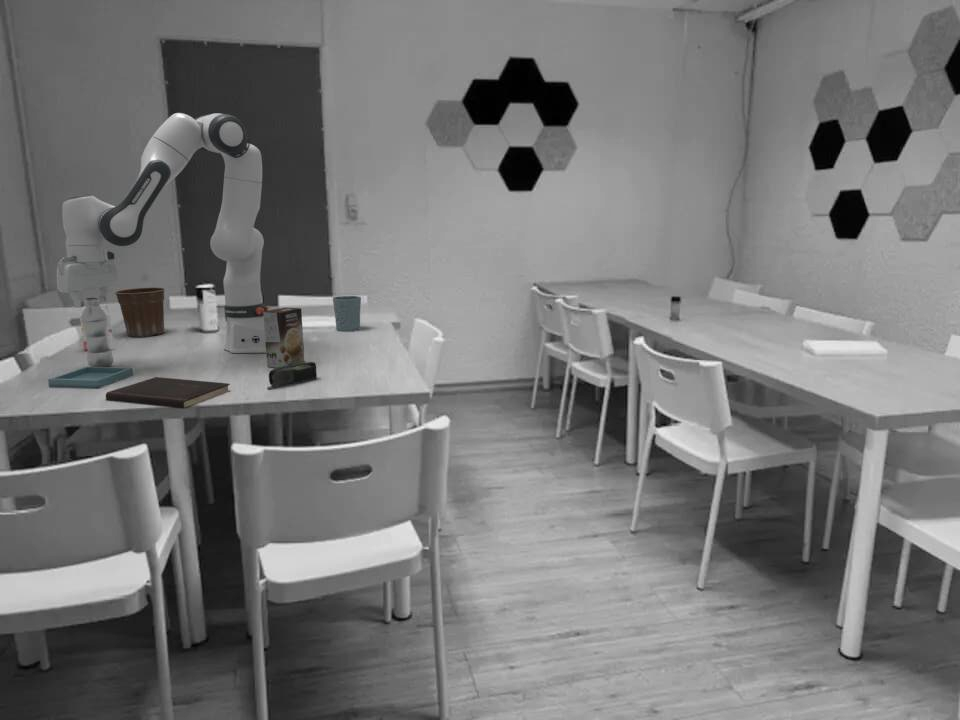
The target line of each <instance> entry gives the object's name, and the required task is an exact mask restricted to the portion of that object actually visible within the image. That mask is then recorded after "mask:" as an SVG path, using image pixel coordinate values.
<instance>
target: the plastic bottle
mask: <svg viewBox="0 0 960 720" xmlns="http://www.w3.org/2000/svg"><path fill="white" fill-rule="evenodd" d="M83 301H84V307H85V308H84V310H83V311H82V313H81V314H82V315H81V314H80V315H81V321H82V324H83V327H84V330H85V335H86V339H87V350H86V351H87V352H86V361H87V364H88V367H111V366H112V365H113V363H114V355H113V352H112V350H110V346H109V342H108V336H107V315H106V313H105V312H104V311H103V308H100V306H99V305H100V304H101V303H100V301H99V298H98V297H87V298H84V299H83ZM81 321H80V322H81Z"/></svg>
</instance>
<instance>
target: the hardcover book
mask: <svg viewBox="0 0 960 720" xmlns="http://www.w3.org/2000/svg"><path fill="white" fill-rule="evenodd" d="M230 385H231V383H228V382H215V381H208V380H207V381H204V380H195V379H194V380H193V379H183V378H170V377H159V376H155V377H152V378H148V379H145V380H142V381H139V382H136V383H132V384H129V385H127V386H122V387H120V388H116V389H113V390H110V391H107V392H106V393H105V400H106V401H110V402H121V403H128V404H129V403H131V404H140V405H149V406H159V407H168V408H177V409H185V408H187V407H190V406H192V405H195V404H197V403H200V402H203V401H206V400H208V399H211V398H213V397H217V396H218V395H221V394H224V393H226V392H228V391H229V386H230Z"/></svg>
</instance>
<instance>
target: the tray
mask: <svg viewBox="0 0 960 720" xmlns="http://www.w3.org/2000/svg"><path fill="white" fill-rule="evenodd" d="M132 376H134V368H133V367H121V366H120V367H114V366H112V367H111V366H108V367H90V366H85V367H80V368H78V369H75V370H72V371H69V372H67V373H63V374H60V375H57V376H53V377H51V378H47V383H48V387H49V388H76V389H77V388H78V389H79V388H80V389H100V388H104V387H106V386H109V385H110V384H113V383H116V382H119V381H121V380H124V379H127V378H129V377H132Z"/></svg>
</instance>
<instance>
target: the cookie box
mask: <svg viewBox="0 0 960 720" xmlns="http://www.w3.org/2000/svg"><path fill="white" fill-rule="evenodd" d="M302 313H303V312H302V308H298V307H281V308H274V309H268V311H263V315H264V329H265V343H266V352H265V354H266V357H265V358H266V367H269V368H273V369H275V368H277V367H281V366H288V365H294V364H301V363H306V361H305V348H304V332H303V330H304V329H303V317H302V316H303V314H302Z"/></svg>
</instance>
